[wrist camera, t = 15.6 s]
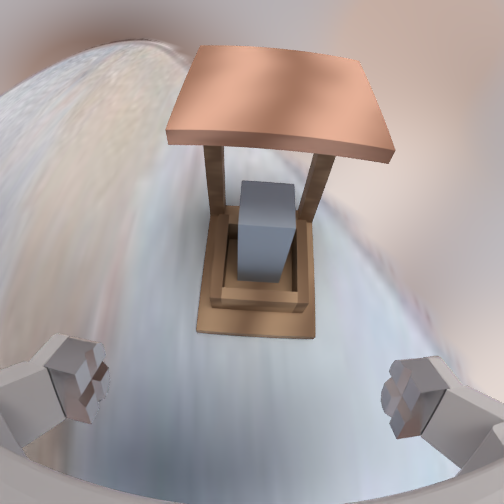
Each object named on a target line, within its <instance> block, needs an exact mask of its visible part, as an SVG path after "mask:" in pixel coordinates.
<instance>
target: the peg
mask: <svg viewBox="0 0 504 504" xmlns="http://www.w3.org/2000/svg"><path fill="white" fill-rule="evenodd" d="M295 230H296V215H295V189H294V184H285V183H272V182H258V181H242V185H241V197H240V209H239V221H238V277H237V281H252V282H269V283H279V281H280V277H281V274H282V271H283V268H284V265H285V262H286V259H287V255H288V252H289V249H290V246H291V243H292V239H293V236H294V233H295Z"/></svg>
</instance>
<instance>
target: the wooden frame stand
mask: <svg viewBox="0 0 504 504" xmlns="http://www.w3.org/2000/svg"><path fill="white" fill-rule="evenodd" d="M165 130H166V135H167V140H168V145H203V147H204V158H205V168H206V178H207V188H208V197H209V206H210V215H211V216H210V223H209V230H208V238H207V245H206V252H205V260H204V268H203V276H202V284H201V292H200V301H199V310H198V319H197V328H196V330H197V332H198V333H209V334H221V335H235V336H250V337H269V338H293V339H314V338H315V287H314V258H313V236H312V221H313V218H314V215H315V213H316V210H317V207H318V205H319V202H320V199H321V196H322V194H323V191H324V188H325V185H326V182H327V180H328V177H329V174H330V171H331V168H332V165H333V162H334V160H335V157H336V156H341V157H348V158H355V159H361V160H368V161H374V162H381V163H386V164H389V162H390V160H391V158H392V156H393V154H394V152H395V148H394V145H393V142H392V139H391V136H390V134H389V131H388V128H387V126H386V123H385V121H384V118H383V115H382V113H381V110H380V108H379V105H378V103H377V100H376V98H375V96H374V93H373V91H372V88H371V86H370V84H369V82H368V79H367V77H366V75H365V73H364V71H363V68H362V66H361V64H360V62H359V61H357V60H352V59H347V58H342V57H336V56H331V55H325V54H318V53H311V52H304V51H296V50H287V49H277V48H265V47H248V46H213V45H212V46H200V47H199V50H198V52H197V54H196V56H195V58H194V60H193V63H192V65H191V67H190V69H189V72H188V74H187V76H186V79H185V81H184V83H183V86H182V88H181V91H180V93H179V96H178V98H177V101H176V103H175V106H174V108H173V111H172V113H171V116H170V119H169V121H168V124H167V127H166V129H165ZM224 146H232V147H249V148H264V149H276V150H287V151H298V152H307V153H314V155H313V158H312V162H311V166H310V169H309V173H308V177H307V180H306V184H305V187H304V191H303V194H302V198H301V201H300V205H299V209H298V210H295V215H296V230H295V233H294V236H293V239H292V243H291V246H290V249H289V252H288V255H287V259H286V262H285V265H284V268H283V271H282V274H281V277H280V281H279V283H269V282H252V281H237V277H238V221H239V209H240V206H228V205H226V200H225V171H224Z"/></svg>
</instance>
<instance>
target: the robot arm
mask: <svg viewBox="0 0 504 504" xmlns="http://www.w3.org/2000/svg"><path fill="white" fill-rule="evenodd" d="M105 356H106V353H105V349H104V345H103V344H102V343H100V342H96V341H91V340H86V339H82V338H77V337H73V336H68V335H64V334H59V333H57V334H54V335H53V336H52V337H51V338H50V339H49V340H48V341H47V342H46V343H45V344H44V345H43V346H42V348H41V349H40V350H39V351H38V352H37V353H36V354H35V355H34V356H33V357H32V359H31V360H30V361H29V362H26V361H23V362H20V363H18V364H15V365H12V366H10V367H7V368H4V369H2V370H0V504H185V503H178V502H171V501H165V500H159V499H154V498H149V497H144V496H139V495H135V494H131V493H126V492H122V491H118V490H115V489H111V488H107V487H104V486H100V485H97V484H94V483H90V482H87V481H84V480H81V479H78V478H75V477H72V476H69V475H67V474H64V473H61V472H59V471H56V470H53V469H51V468H48V467H46V466H44V465H41V464H39V463H37V462H34V461H32V460H30V459H28V458H27V456H26V454H25V453H24V451H23V450H22V448H23V447H24V446H26V445H27V444H29V443H31V442H32V441H34V440H35V439H37V438H38V437H40V436H41V435H43V434H44V433H46V432H47V431H49V430H50V429H52V428H53V427H55V426H56V425H58V424H59V423H61V422H62V421H64V420H65V419H66V418H69V419H72V420H76V421H80V422H84V423H88V424H92V423H93V421H94V419H95V417H96V415H97V413H98V411H99V409H100V408H99V404H98V402H99V401H101V400H103V399H105V397H106V395H107V393H108V391H109V386H110V372H109V368H108V367H107V365H106V364H105V363H104V362H103V359H104V358H105ZM389 373H390V375H391V378H390V379H389V380H387V381H386V382H385V383H384V386H383V389H382V392H381V404H382V408H383V410H384V413H385V414H387V415H388V416H390V417H391V420H390V423H389V424H390V426H391V428H392V430H393V433H394V435H395V437H396V439H401V438H408V437H414V436H420V435H421V437H422V438H423V439H424V440H426V441H427V442H428V443H429V444H430V445H432V446H433V447H434V448H435V449H437V450H438V451H439V452H440V453H442V454H443V455H444V456H445V457H447V458H448V459H449V460H450V461H452V462H453V463H454V464H456V465H457V466H458V467H459V468H461V470H460V471H459V472H458V473H457V475H456V476H455V477H454V478H451V479H448V480H445V481H442V482H439V483H435V484H432V485H429V486H425V487H422V488H418V489H415V490H411V491H407V492H403V493H399V494H394V495H390V496H385V497H381V498H375V499H370V500H364V501H358V502H352V503H345V504H504V403H502V402H500V401H498V400H496V399H494V398H492V397H490V396H488V395H486V394H484V393H482V392H480V391H478V390H476V389H474V388H471V387H469V386H463V384H462V383H461V382H460V381H459V379H458V378H457V377H456V376H455V374H454V373H453V372H452V370H451V369H450V368H449V367H448V365H447V364H446V363H445V362H444V361H443V359H442V358H441V357H439V356H430V357H423V358H417V359H404V360H395V361H394V362H393V363H392V365H391V367H390V370H389Z"/></svg>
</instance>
